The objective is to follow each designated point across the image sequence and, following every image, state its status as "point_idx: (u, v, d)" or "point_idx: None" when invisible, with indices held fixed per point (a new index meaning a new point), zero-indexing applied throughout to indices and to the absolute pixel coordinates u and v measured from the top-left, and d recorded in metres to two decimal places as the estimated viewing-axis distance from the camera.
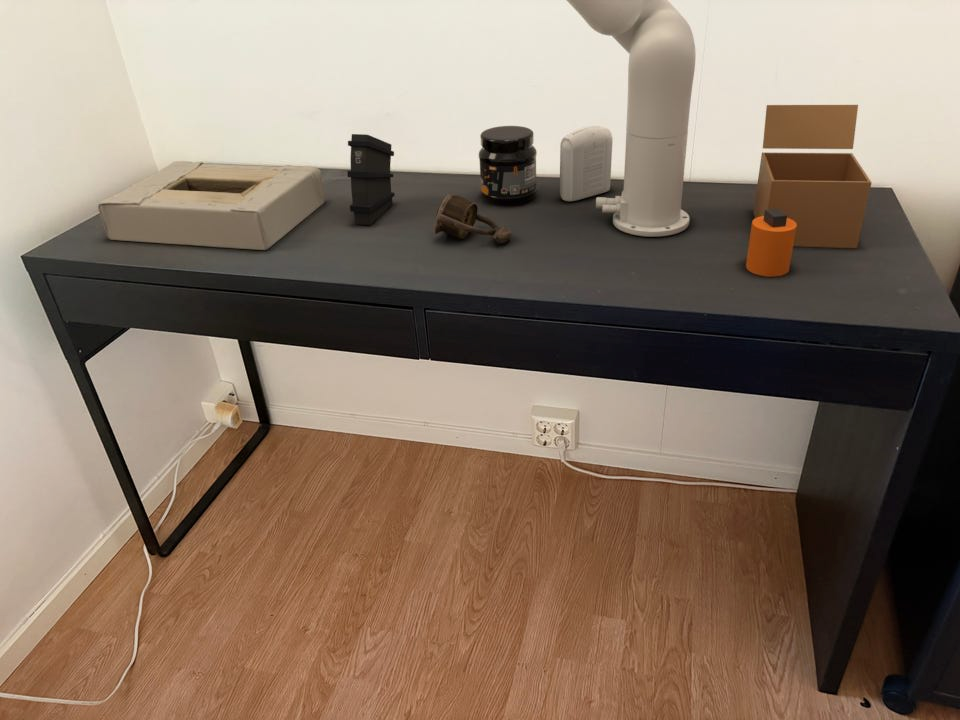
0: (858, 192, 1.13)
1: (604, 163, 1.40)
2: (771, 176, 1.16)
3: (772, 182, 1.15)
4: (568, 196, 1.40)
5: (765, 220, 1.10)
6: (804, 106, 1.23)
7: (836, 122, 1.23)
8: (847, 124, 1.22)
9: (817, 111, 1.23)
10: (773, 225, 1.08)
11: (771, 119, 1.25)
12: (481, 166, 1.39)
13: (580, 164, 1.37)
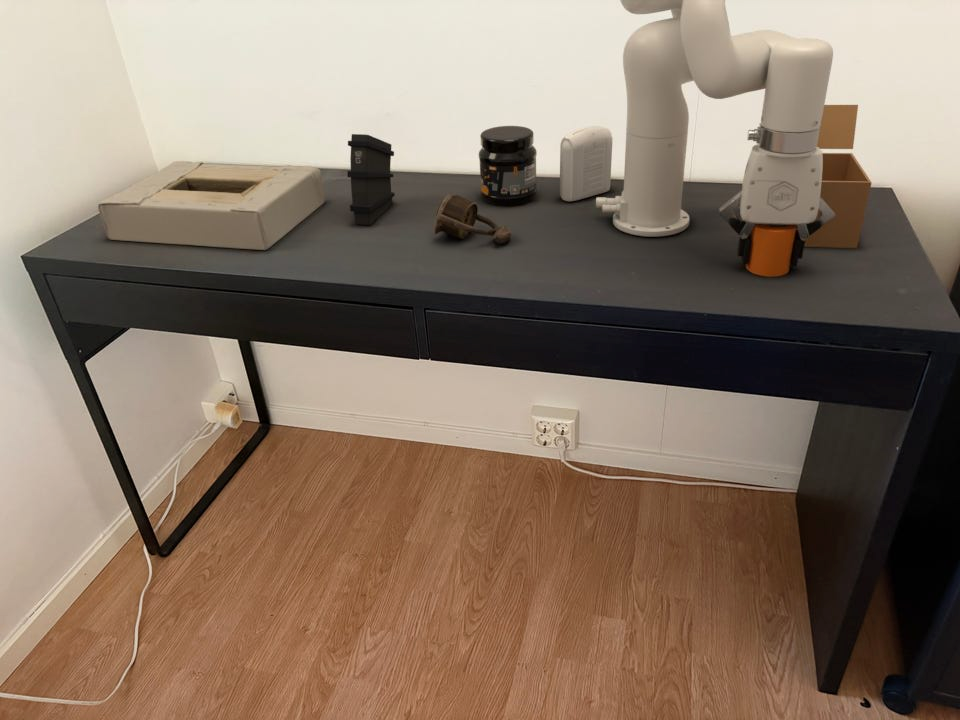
0: (858, 192, 1.13)
1: (604, 163, 1.40)
2: None
3: None
4: (568, 196, 1.40)
5: None
6: None
7: (836, 122, 1.23)
8: (847, 124, 1.22)
9: None
10: (773, 225, 1.08)
11: None
12: (481, 166, 1.39)
13: (580, 164, 1.37)
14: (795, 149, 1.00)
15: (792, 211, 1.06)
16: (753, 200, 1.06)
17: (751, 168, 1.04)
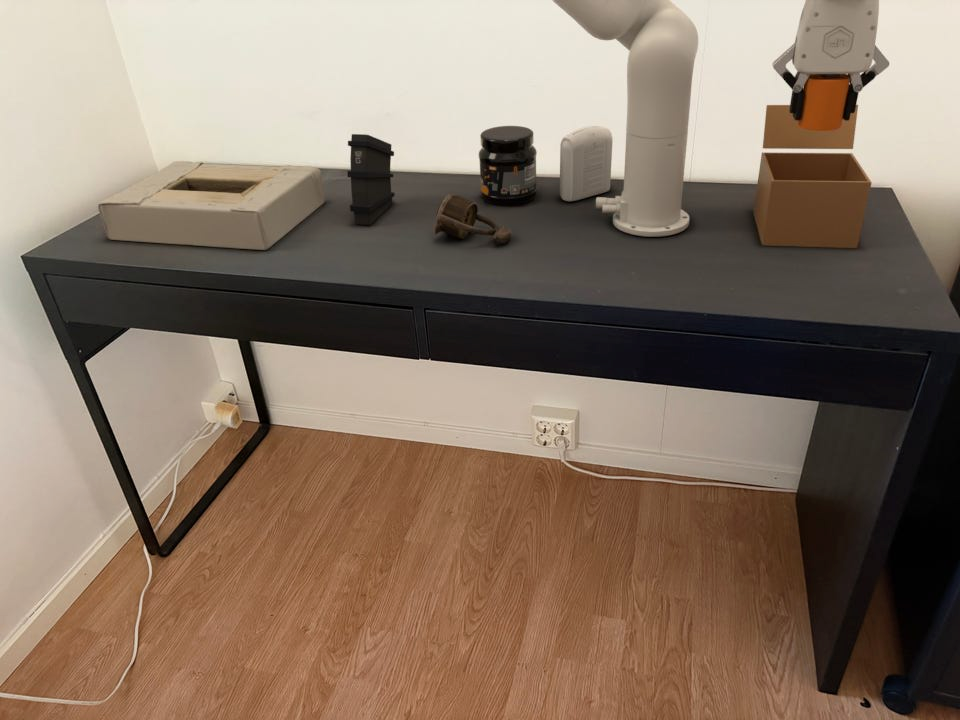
0: (858, 192, 1.13)
1: (604, 163, 1.40)
2: (771, 176, 1.16)
3: (772, 182, 1.15)
4: (568, 196, 1.40)
5: (818, 74, 1.11)
6: None
7: None
8: (847, 124, 1.22)
9: None
10: (827, 76, 1.09)
11: (771, 119, 1.25)
12: (481, 166, 1.39)
13: (580, 164, 1.37)
14: None
15: (847, 58, 1.07)
16: (808, 48, 1.07)
17: (807, 14, 1.05)
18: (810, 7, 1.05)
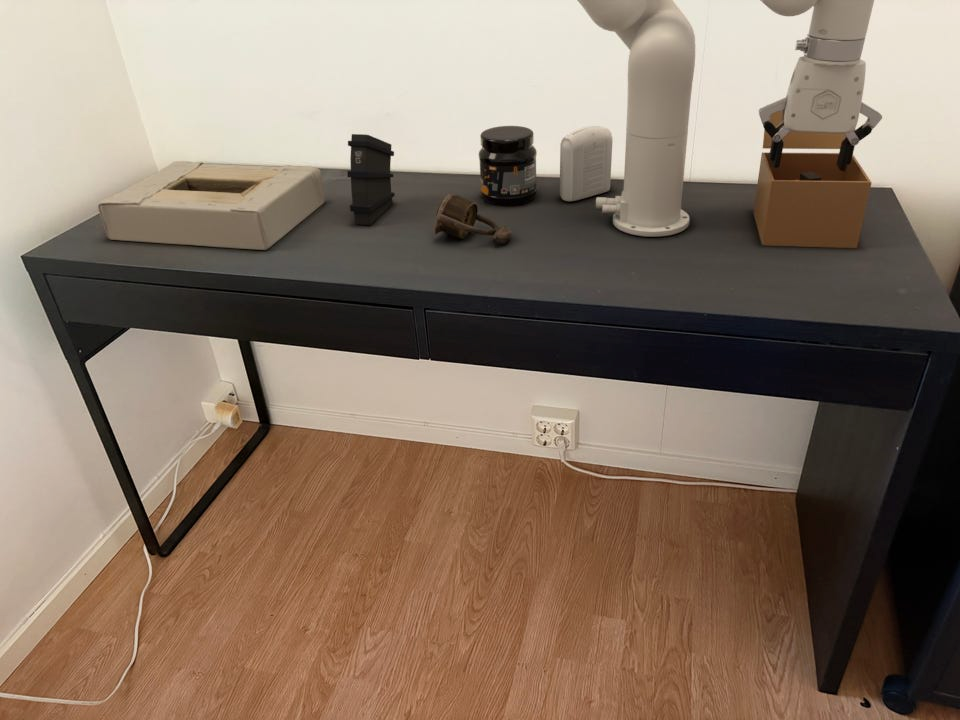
0: (858, 192, 1.13)
1: (604, 163, 1.40)
2: (771, 176, 1.16)
3: (772, 182, 1.15)
4: (568, 196, 1.40)
5: None
6: None
7: None
8: None
9: None
10: None
11: (771, 119, 1.25)
12: (481, 166, 1.39)
13: (580, 164, 1.37)
14: (841, 57, 1.07)
15: (834, 120, 1.12)
16: (798, 108, 1.13)
17: (798, 76, 1.11)
18: (801, 70, 1.10)
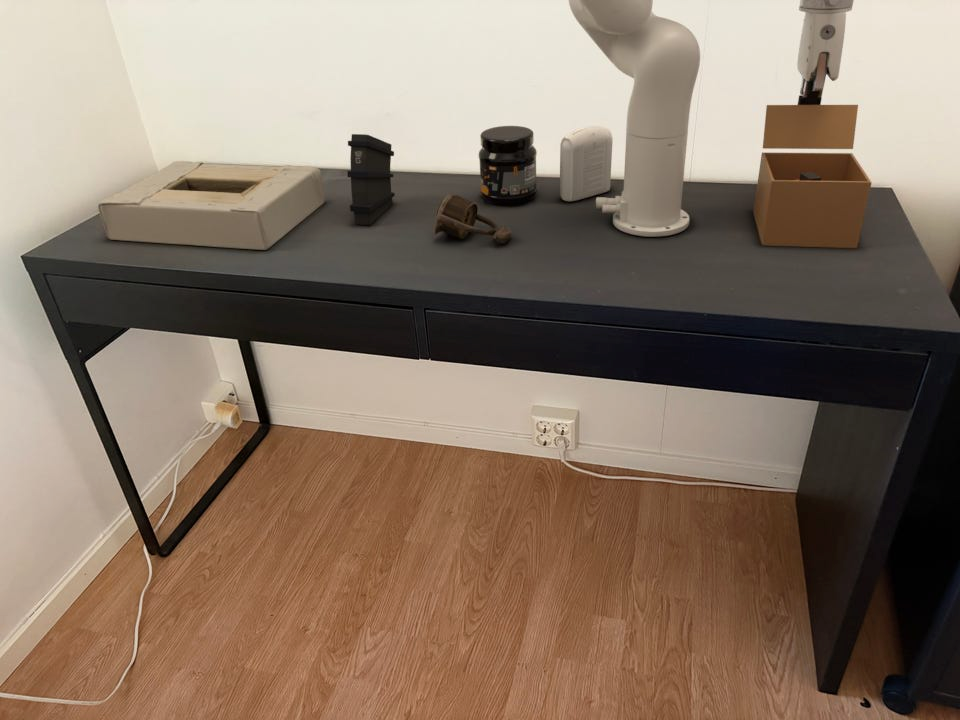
0: (858, 192, 1.13)
1: (604, 163, 1.40)
2: (771, 176, 1.16)
3: (772, 182, 1.15)
4: (568, 196, 1.40)
5: None
6: (804, 106, 1.23)
7: (836, 122, 1.23)
8: (847, 124, 1.22)
9: (817, 111, 1.23)
10: None
11: (771, 119, 1.25)
12: (481, 166, 1.39)
13: (580, 164, 1.37)
14: None
15: None
16: None
17: (843, 28, 1.15)
18: (844, 21, 1.15)
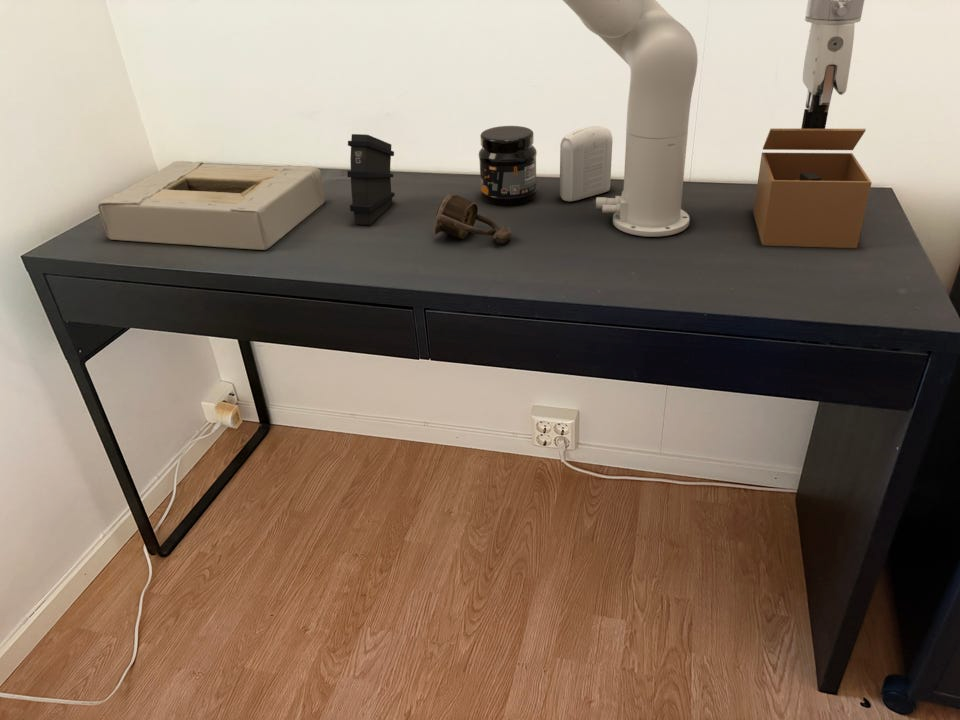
0: (858, 192, 1.13)
1: (604, 163, 1.40)
2: (771, 176, 1.16)
3: (772, 182, 1.15)
4: (568, 196, 1.40)
5: None
6: (809, 131, 1.18)
7: (840, 138, 1.20)
8: (851, 139, 1.20)
9: (822, 133, 1.19)
10: None
11: (773, 137, 1.21)
12: (481, 166, 1.39)
13: (580, 164, 1.37)
14: None
15: None
16: None
17: (852, 39, 1.10)
18: (852, 33, 1.09)
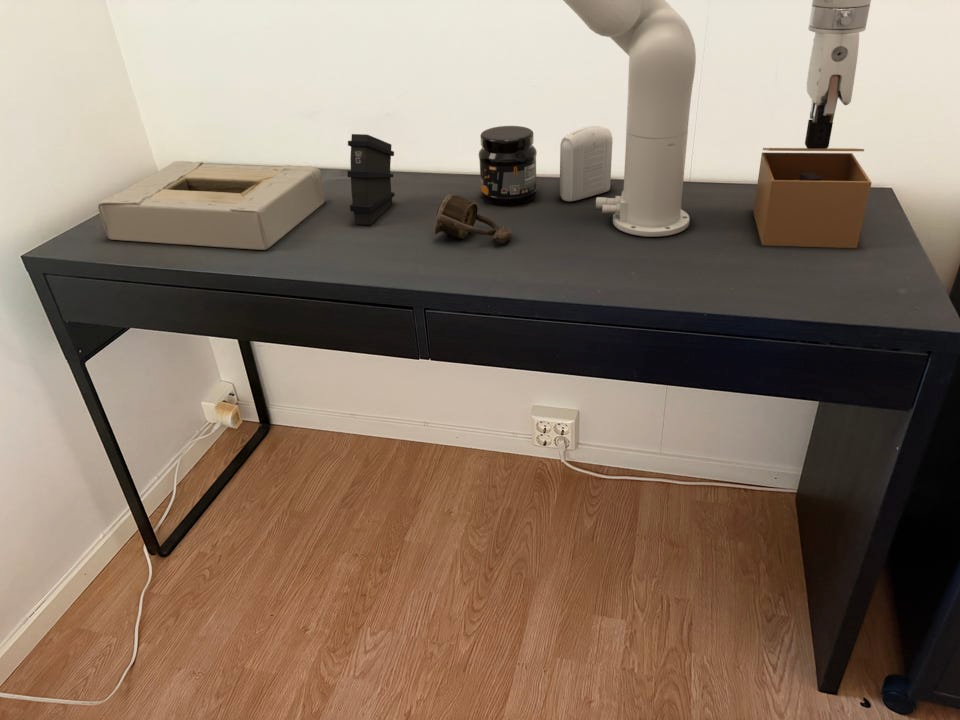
0: (858, 192, 1.13)
1: (604, 163, 1.40)
2: (771, 176, 1.16)
3: (772, 182, 1.15)
4: (568, 196, 1.40)
5: None
6: (807, 150, 1.19)
7: None
8: None
9: None
10: None
11: None
12: (481, 166, 1.39)
13: (580, 164, 1.37)
14: None
15: None
16: None
17: (856, 49, 1.07)
18: (857, 42, 1.07)
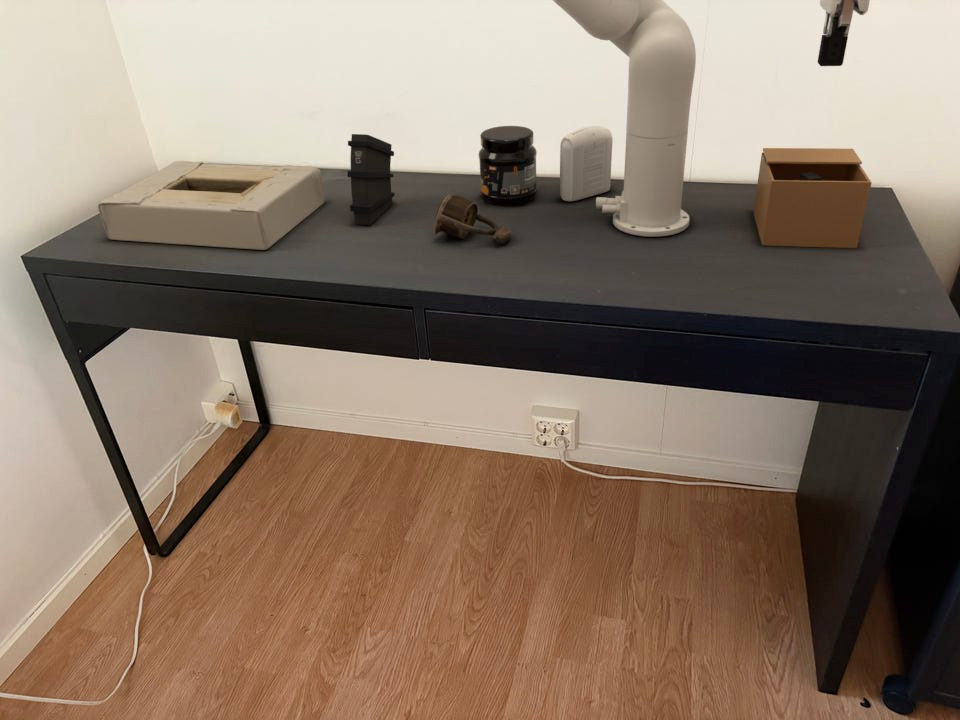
0: (858, 192, 1.13)
1: (604, 163, 1.40)
2: (771, 176, 1.16)
3: (772, 182, 1.15)
4: (568, 196, 1.40)
5: None
6: None
7: None
8: None
9: None
10: None
11: None
12: (481, 166, 1.39)
13: (580, 164, 1.37)
14: None
15: None
16: None
17: None
18: None
